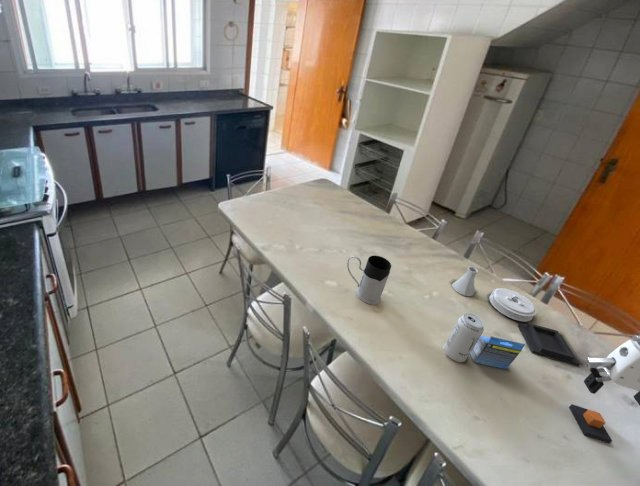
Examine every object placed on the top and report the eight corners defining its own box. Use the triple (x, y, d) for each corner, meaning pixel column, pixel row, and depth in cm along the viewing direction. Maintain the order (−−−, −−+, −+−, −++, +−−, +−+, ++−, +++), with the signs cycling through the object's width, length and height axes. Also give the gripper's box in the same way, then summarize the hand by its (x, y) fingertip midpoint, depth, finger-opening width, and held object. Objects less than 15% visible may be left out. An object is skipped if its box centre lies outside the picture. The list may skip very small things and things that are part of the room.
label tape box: (499, 360, 98) (518, 332, 92) (506, 372, 94) (526, 344, 89) (467, 353, 99) (484, 325, 93) (473, 365, 96) (491, 337, 90)
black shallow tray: (559, 336, 107) (563, 331, 106) (578, 366, 98) (583, 361, 97) (517, 325, 110) (520, 319, 109) (531, 352, 101) (535, 347, 100)
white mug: (378, 308, 112) (391, 275, 105) (338, 291, 118) (347, 258, 111) (382, 292, 119) (395, 260, 112) (344, 276, 125) (353, 245, 118)
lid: (480, 298, 120) (485, 288, 118) (504, 292, 124) (510, 282, 122) (514, 326, 109) (521, 316, 107) (539, 319, 113) (547, 309, 111)
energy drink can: (458, 368, 94) (479, 332, 87) (438, 351, 99) (457, 316, 92) (468, 358, 97) (490, 324, 90) (448, 343, 102) (467, 308, 95)
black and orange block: (589, 416, 85) (600, 405, 83) (606, 446, 79) (619, 435, 77) (566, 409, 86) (576, 398, 84) (581, 437, 80) (593, 426, 78)
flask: (461, 281, 128) (471, 261, 123) (478, 294, 122) (489, 274, 117) (447, 284, 126) (457, 264, 121) (463, 298, 119) (474, 277, 115)
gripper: (624, 348, 68) (578, 396, 76) (735, 379, 63) (673, 427, 71) (602, 320, 74) (561, 368, 82) (701, 347, 70) (647, 394, 78)
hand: (613, 395), depth 77 cm, fingers open, 9 cm apart
